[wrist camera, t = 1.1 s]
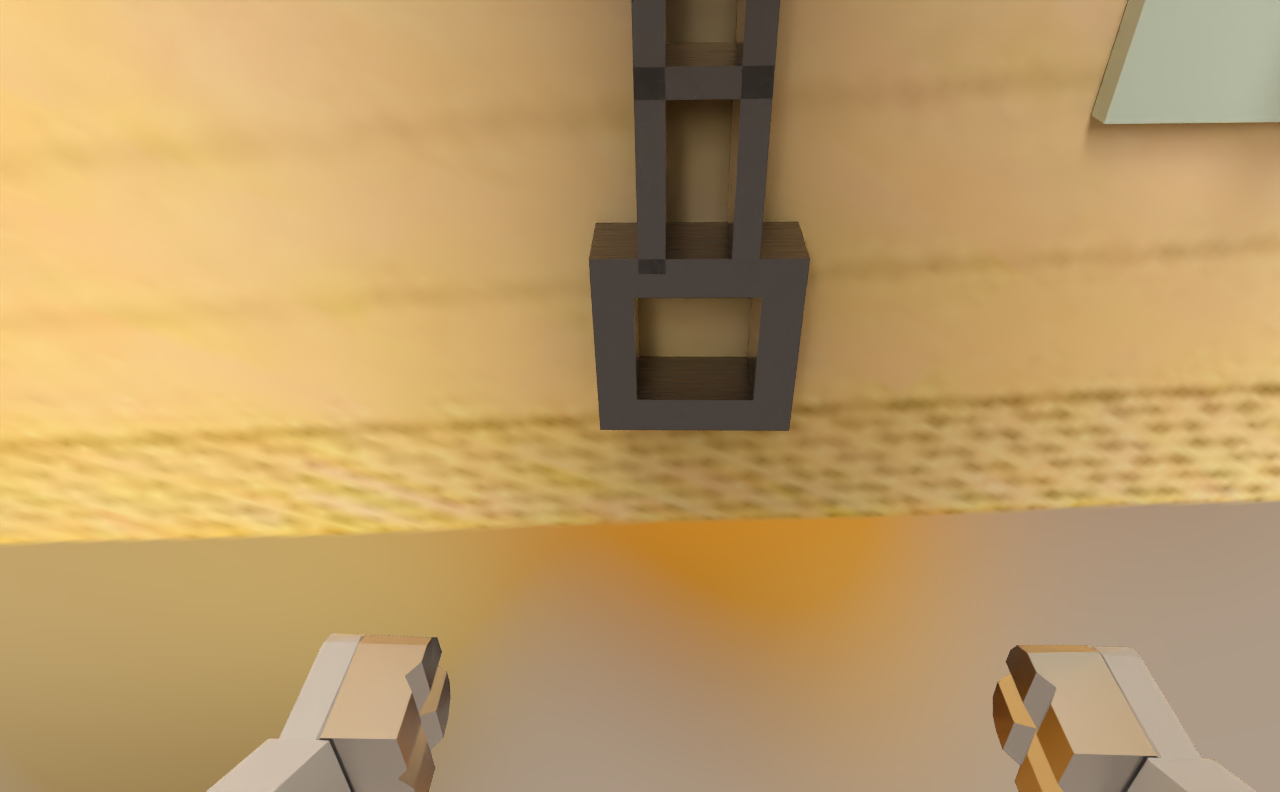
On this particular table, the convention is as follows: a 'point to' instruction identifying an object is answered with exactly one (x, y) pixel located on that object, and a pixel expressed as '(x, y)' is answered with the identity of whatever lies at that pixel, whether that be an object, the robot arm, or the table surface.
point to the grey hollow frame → (700, 245)
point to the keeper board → (1193, 63)
